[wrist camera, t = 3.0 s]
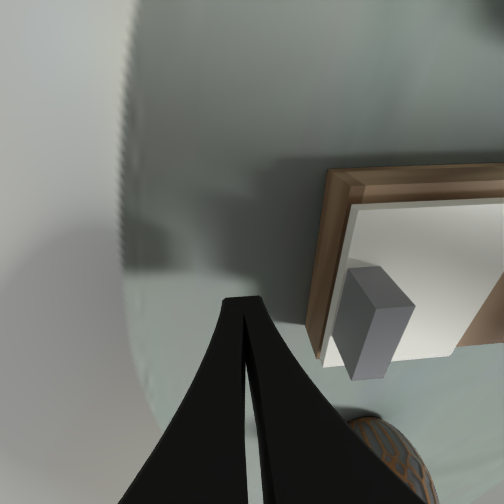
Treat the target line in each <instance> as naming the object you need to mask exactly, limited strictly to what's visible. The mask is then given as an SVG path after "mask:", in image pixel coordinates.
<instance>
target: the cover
mask: <svg viewBox="0 0 504 504" xmlns="http://www.w3.org/2000/svg"><path fill="white" fill-rule="evenodd" d="M503 272H504V197H502V198H480V199H458V200H436V201H414V202H392V203H370V204H352V205H351V210H350V214H349V219H348V224H347V229H346V234H345V238H344V243H343V248H342V253H341V258H340V262H339V267H338V272H337V277H336V281H335V286H334V291H333V296H332V301H331V305H330V310H329V315H328V320H327V325H326V329H325V334H324V339H323V344H322V348H321V353H320V361H321V364H322V367H333V366H344V365H345V367H346V369H347V372H348V374H349V376H350V379H351V381H356V380H366V379H377V378H383V377H384V375H385V373H386V371H387V368H388V366H389V364H390V362H391V361H399V360H410V359H421V358H432V357H443V356H450V355H451V353H452V352H453V350H454V348H455V347H456V345H457V344H458V342H459V341H460V339H461V338H462V336H463V334H464V333H465V331H466V330H467V328H468V327H469V325H470V324H471V322H472V320H473V319H474V317H475V316H476V314H477V313H478V311H479V309H480V308H481V306H482V305H483V303H484V302H485V300H486V299H487V297H488V295H489V294H490V292H491V291H492V289H493V288H494V286H495V285H496V283H497V281H498V280H499V278H500V277H501V275H502V274H503Z"/></svg>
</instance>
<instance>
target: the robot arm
mask: <svg viewBox="0 0 504 504" xmlns="http://www.w3.org/2000/svg"><path fill="white" fill-rule="evenodd" d="M246 367H247V373H248V379H249V385H250V391H251V397H252V404H253V410H254V416H255V422H256V428H257V436H258V445H259V456H260V468H261V479H262V491H263V503H264V504H427V503H425V502H424V501H423V500H422V499H421V498H420V497H419V496H418V495H417V494H416V493H415V492H414V491H413V490H412V489H411V488H410V487H409V486H408V485H407V484H406V483H405V482H403V481H402V480H401V479H400V478H399V477H398V476H397V475H396V474H395V473H394V472H393V471H392V470H391V469H390V468H389V467H388V466H387V465H386V464H385V463H384V462H383V461H382V460H381V459H380V458H379V457H378V456H377V455H376V454H375V453H374V452H373V450H372V449H371V448H370V447H369V446H368V445H367V444H366V443H365V442H364V441H363V440H362V439H361V437H360V436H359V435H358V434H357V433H356V432H355V431H354V430H353V429H352V428H351V427H350V426H349V424H348V423H347V422H346V421H345V420H344V419H343V418H342V417H341V416H340V415H339V413H338V412H337V411H336V410H335V409H334V408H333V406H332V405H331V404H330V403H329V402H328V400H327V399H326V398H325V397H324V396H323V394H322V393H321V392H320V391H319V389H318V388H317V387H316V386H315V384H314V383H313V382H312V381H311V379H310V378H309V377H308V375H307V374H306V373H305V371H304V370H303V368H302V367H301V366H300V364H299V363H298V361H297V360H296V358H295V357H294V356H293V354H292V353H291V351H290V350H289V348H288V347H287V345H286V343H285V342H284V340H283V338H282V337H281V335H280V334H279V332H278V330H277V328H276V327H275V325H274V323H273V321H272V319H271V318H270V316H269V314H268V312H267V309H266V307H265V305H264V303H263V300H262V298H261V297H260V296H245V297H230V298H225V299H224V300H222V307H221V311H220V315H219V318H218V322H217V325H216V328H215V331H214V333H213V336H212V339H211V341H210V344H209V346H208V349H207V351H206V354H205V356H204V358H203V360H202V362H201V365H200V367H199V369H198V371H197V373H196V376H195V378H194V380H193V382H192V384H191V386H190V388H189V389H188V391H187V393H186V395H185V397H184V399H183V401H182V403H181V404H180V406H179V408H178V410H177V412H176V413H175V415H174V417H173V418H172V420H171V422H170V424H169V425H168V427H167V429H166V430H165V432H164V434H163V435H162V437H161V439H160V440H159V442H158V444H157V445H156V447H155V449H154V450H153V452H152V453H151V455H150V456H149V458H148V459H147V461H146V462H145V464H144V465H143V467H142V468H141V470H140V471H139V473H138V474H137V476H136V478H135V479H134V481H133V482H132V483H131V485H130V486H129V488H128V489H127V491H126V493H125V494H124V495H123V497H122V498H121V500H120V501H119V503H118V504H248V491H247V474H246V456H245V370H246Z"/></svg>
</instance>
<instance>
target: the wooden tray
mask: <svg viewBox="0 0 504 504" xmlns="http://www.w3.org/2000/svg"><path fill="white" fill-rule="evenodd" d="M502 197H504V163H477V164H449V165H420V166H392V167H364V168H335V169H328V170H327V177H326V184H325V191H324V198H323V205H322V212H321V219H320V226H319V232H318V239H317V246H316V253H315V260H314V267H313V274H312V281H311V288H310V295H309V302H308V309H307V315H306V322H305V327H306V330H307V333H308V336H309V339H310V342H311V345H312V348H313V351H314V354H315V357H316V359H320V353H321V348H322V344H323V339H324V334H325V329H326V325H327V320H328V315H329V310H330V305H331V301H332V296H333V291H334V286H335V281H336V277H337V272H338V267H339V262H340V258H341V253H342V248H343V243H344V238H345V234H346V229H347V224H348V219H349V214H350V210H351V205H352V204H370V203H392V202H414V201H436V200H458V199H480V198H502ZM493 343H504V272H503V274H502V275H501V277H500V278H499V280H498V281H497V283H496V285H495V286H494V288H493V289H492V291H491V292H490V294H489V295H488V297H487V299H486V300H485V302H484V303H483V305H482V306H481V308H480V309H479V311H478V313H477V314H476V316H475V317H474V319H473V320H472V322H471V324H470V325H469V327H468V328H467V330H466V331H465V333H464V334H463V336H462V338H461V339H460V341H459V342H458V344H457V345H456V347H459V346H470V345H482V344H493Z"/></svg>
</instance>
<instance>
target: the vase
mask: <svg viewBox="0 0 504 504" xmlns="http://www.w3.org/2000/svg"><path fill="white" fill-rule="evenodd" d="M348 424H349V426H350V427H351V428H352V429H353V430H354V431H355V432H356V433H357V434H358V435H359V436H360V437H361V439H362V440H363V441H364V442H365V443H366V444H367V445H368V446H369V447H370V448H371V449H372V450H373V452H374V453H375V454H376V455H377V456H378V457H379V458H380V459H381V460H382V461H383V462H384V463H385V464H386V465H387V466H388V467H389V468H390V469H391V470H392V471H393V472H394V473H395V474H396V475H397V476H398V477H399V478H400V479H401V480H402V481H403V482H405V483H406V484H407V485H408V486H409V487H410V488H411V489H412V490H413V491H414V492H415V493H416V494H417V495H418V496H419V497H420V498H421V499H422V500H423V501H424V502H425V503H427V504H439V500H438V496H437V493H436V490H435V487H434V484H433V481H432V478H431V476H430V474H429V472H428V470H427V468H426V466H425V464H424V462H423V461H422V459H421V457H420V456H419V454H418V452H417V451H416V449H415V448H414V447H413V445H412V444H411V443H410V442H409V440H408V439H407V438H406V437H405V436H404V435H403V434H402V433H401V432H400V431H399V430H398V429H396V428H395V427H394V426H392V425H391V424H389V423H387V422H385V421H383V420H381V419H379V418H376V417H364V418H359V419H355V420H353V421H350V422H348Z"/></svg>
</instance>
